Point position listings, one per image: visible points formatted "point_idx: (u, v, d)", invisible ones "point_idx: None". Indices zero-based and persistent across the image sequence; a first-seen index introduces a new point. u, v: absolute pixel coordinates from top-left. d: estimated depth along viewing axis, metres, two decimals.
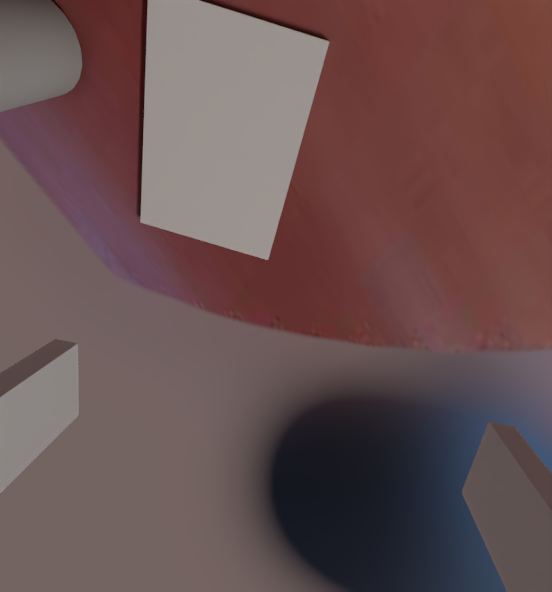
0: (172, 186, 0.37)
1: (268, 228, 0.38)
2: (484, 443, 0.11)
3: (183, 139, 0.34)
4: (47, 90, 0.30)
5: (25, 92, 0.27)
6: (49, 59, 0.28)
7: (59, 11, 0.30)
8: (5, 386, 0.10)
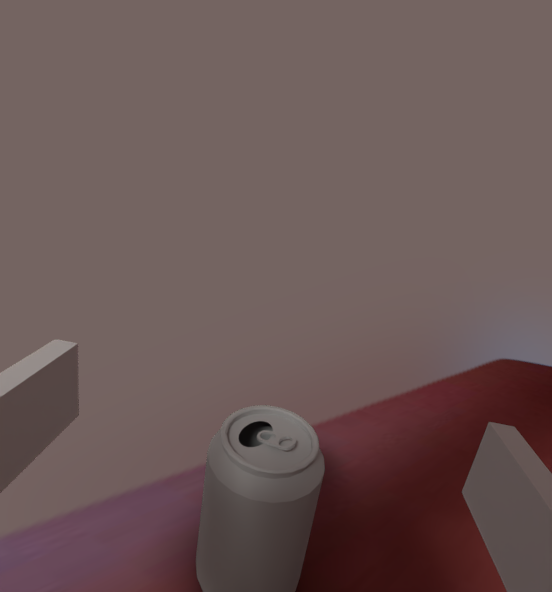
0: None
1: None
2: (484, 443, 0.11)
3: None
4: (215, 555, 0.23)
5: (224, 524, 0.22)
6: (252, 569, 0.22)
7: None
8: (5, 386, 0.10)
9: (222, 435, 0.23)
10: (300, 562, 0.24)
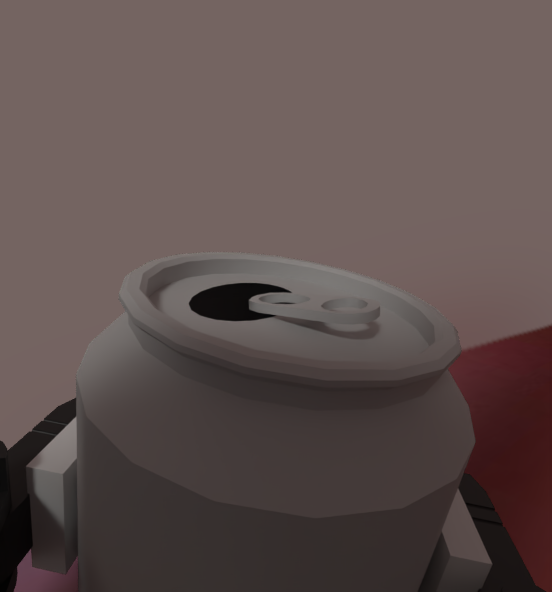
0: None
1: None
2: None
3: None
4: None
5: None
6: None
7: None
8: None
9: (129, 278, 0.07)
10: None
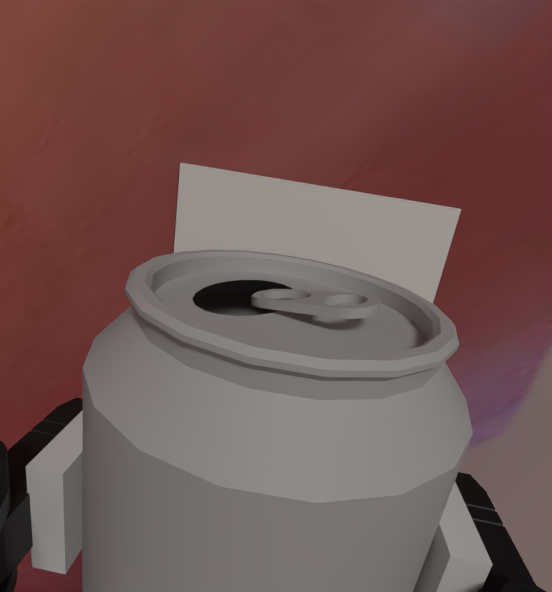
0: None
1: (405, 212, 0.27)
2: None
3: None
4: None
5: (123, 584, 0.06)
6: None
7: None
8: None
9: (134, 272, 0.07)
10: None
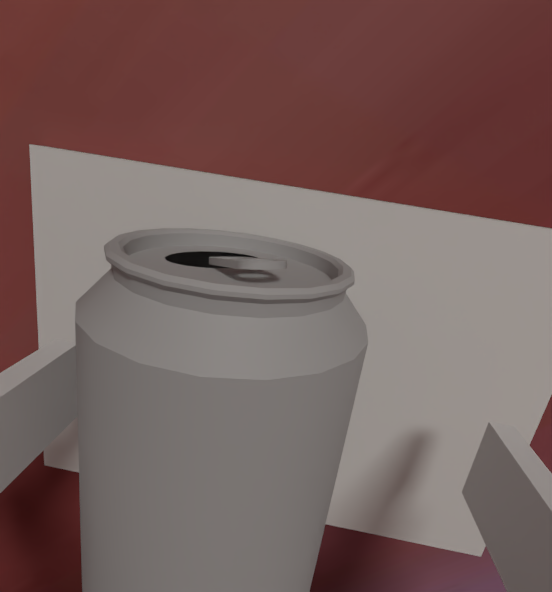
0: (383, 477, 0.16)
1: (496, 245, 0.13)
2: (484, 443, 0.11)
3: None
4: None
5: None
6: (118, 557, 0.09)
7: None
8: (5, 386, 0.10)
9: None
10: None
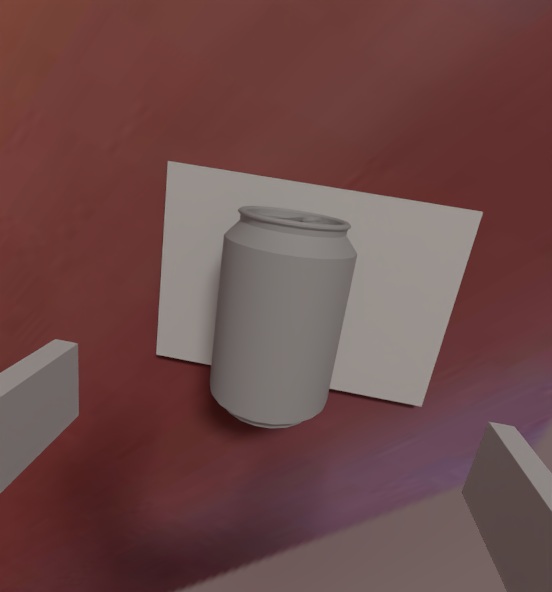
0: (362, 355, 0.27)
1: (420, 215, 0.24)
2: (484, 443, 0.11)
3: None
4: (221, 337, 0.21)
5: (229, 292, 0.20)
6: (254, 349, 0.20)
7: (299, 417, 0.21)
8: (5, 386, 0.10)
9: (241, 207, 0.21)
10: (317, 372, 0.21)
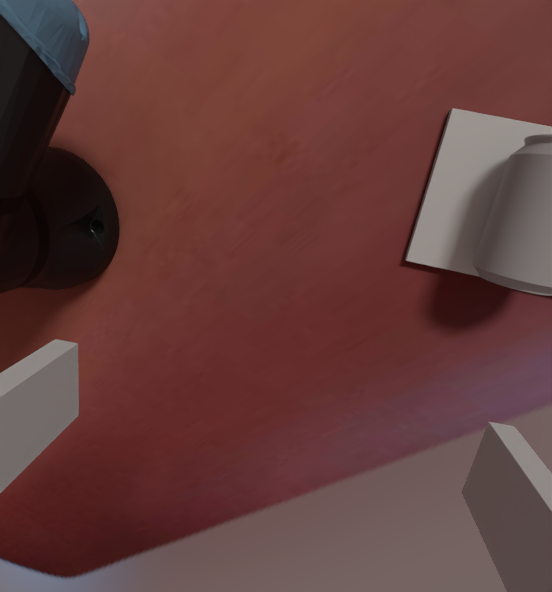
0: None
1: None
2: (484, 443, 0.11)
3: None
4: (510, 225, 0.30)
5: (527, 190, 0.29)
6: (546, 228, 0.29)
7: None
8: (5, 386, 0.10)
9: (529, 136, 0.30)
10: None
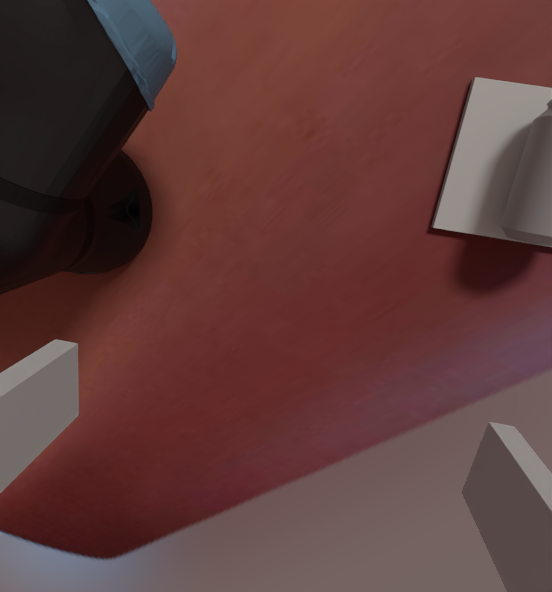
0: None
1: None
2: (484, 443, 0.11)
3: None
4: (539, 184, 0.32)
5: None
6: None
7: None
8: (5, 386, 0.10)
9: None
10: None
